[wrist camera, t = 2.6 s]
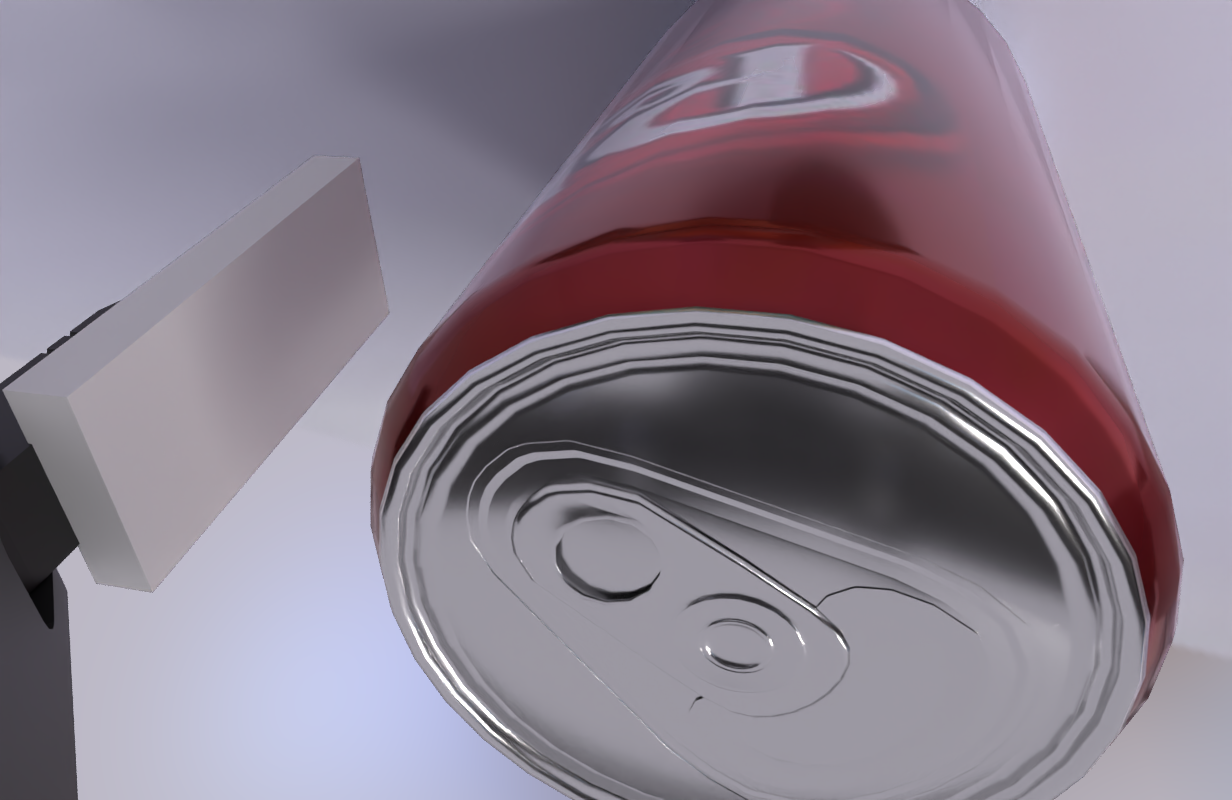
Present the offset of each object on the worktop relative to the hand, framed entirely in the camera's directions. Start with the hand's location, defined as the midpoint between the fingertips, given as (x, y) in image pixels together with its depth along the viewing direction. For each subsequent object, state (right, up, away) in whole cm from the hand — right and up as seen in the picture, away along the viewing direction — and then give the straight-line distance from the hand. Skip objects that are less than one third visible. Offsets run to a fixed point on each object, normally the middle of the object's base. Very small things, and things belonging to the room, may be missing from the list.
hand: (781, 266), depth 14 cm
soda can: (+1, +3, +4) cm, 5 cm away
